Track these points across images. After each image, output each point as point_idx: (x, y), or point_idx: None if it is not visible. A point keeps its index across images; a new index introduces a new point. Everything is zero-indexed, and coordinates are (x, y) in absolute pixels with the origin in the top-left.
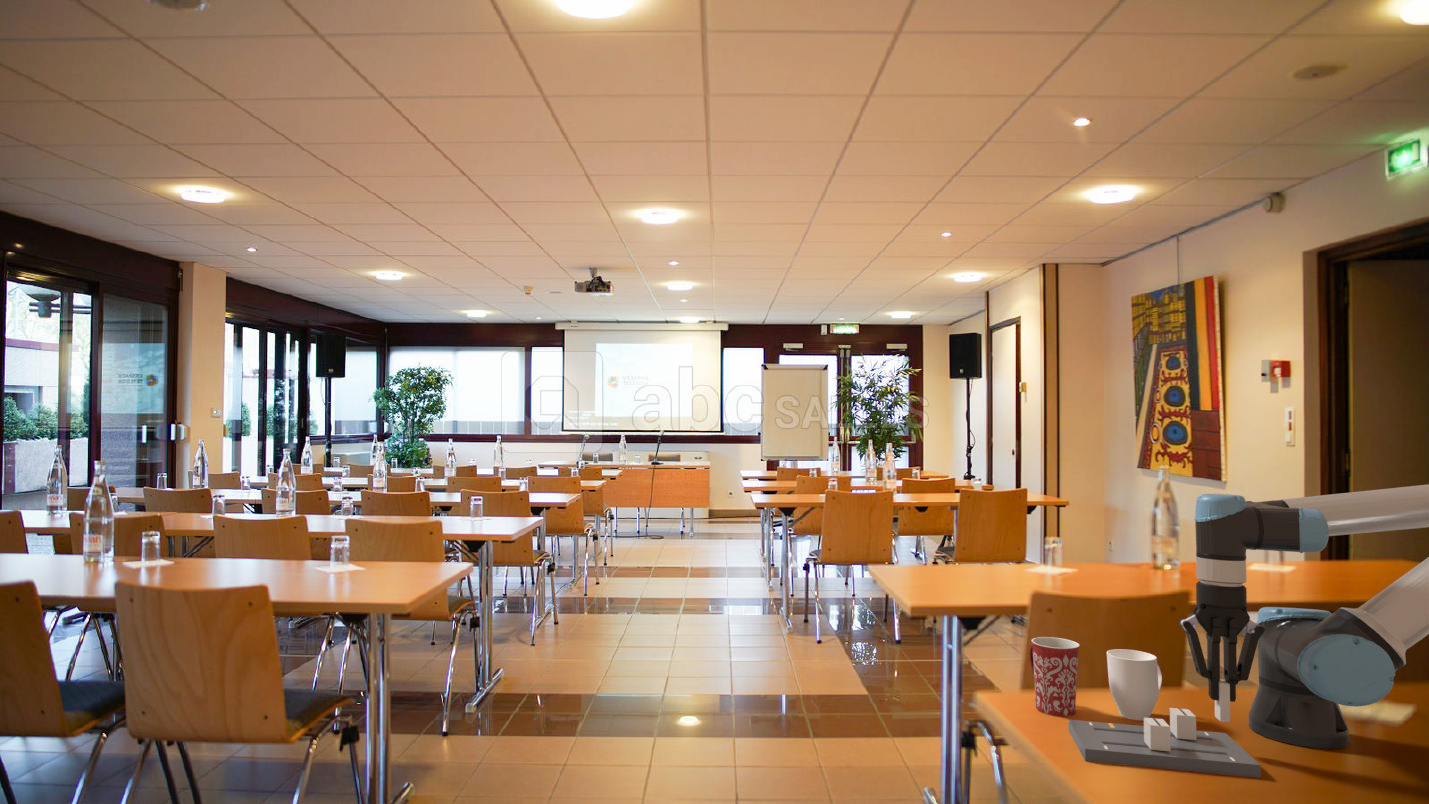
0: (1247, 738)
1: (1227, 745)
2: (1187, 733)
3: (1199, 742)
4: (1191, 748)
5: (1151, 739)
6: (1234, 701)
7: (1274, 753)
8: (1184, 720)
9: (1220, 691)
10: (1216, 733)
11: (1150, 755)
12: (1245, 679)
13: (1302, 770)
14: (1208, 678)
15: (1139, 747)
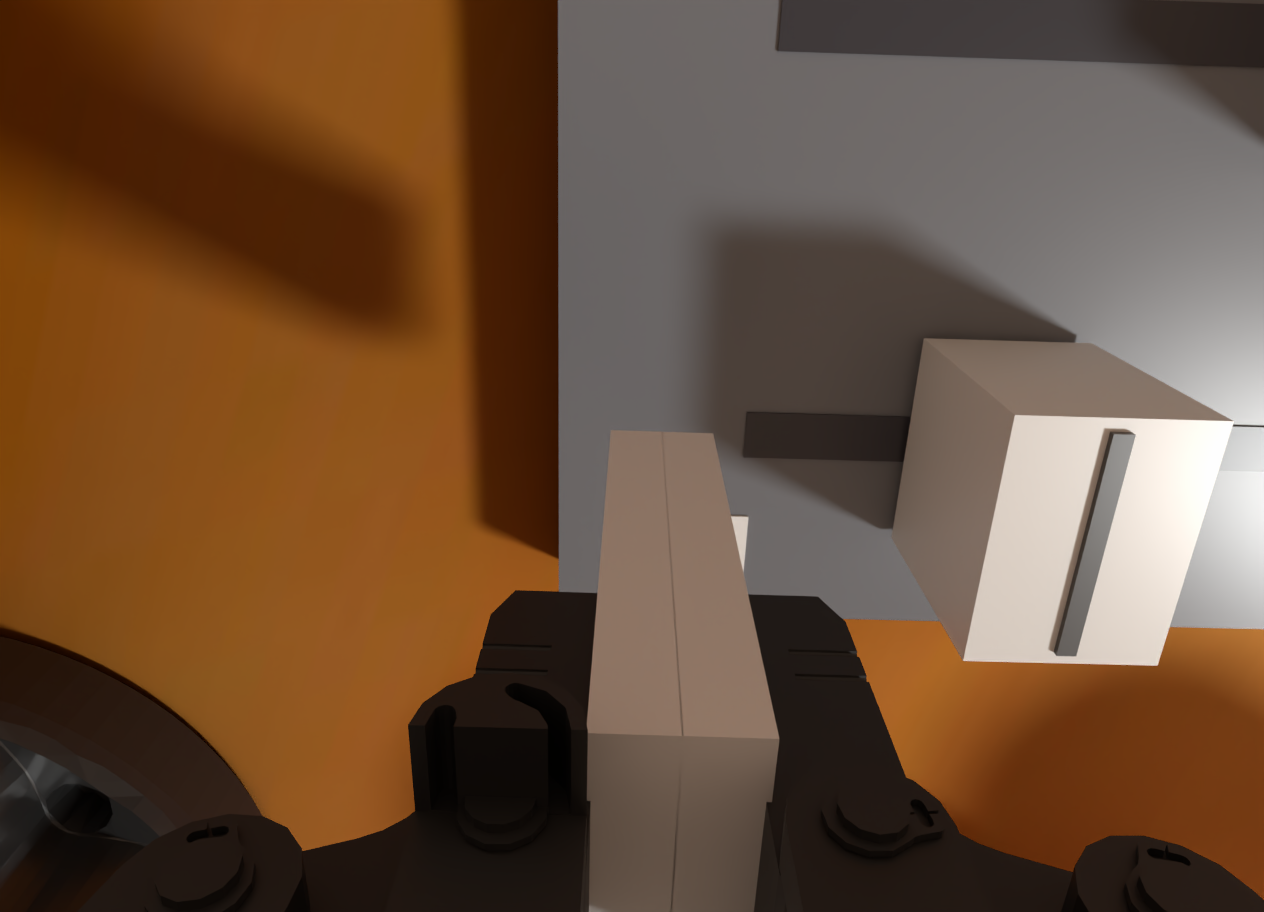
0: (360, 721)
1: (670, 286)
2: (1023, 357)
3: (908, 305)
4: (1078, 100)
5: None
6: (517, 593)
7: (253, 458)
8: (1115, 399)
9: (751, 634)
10: None
11: None
12: (207, 833)
13: (128, 91)
14: (995, 859)
15: None
